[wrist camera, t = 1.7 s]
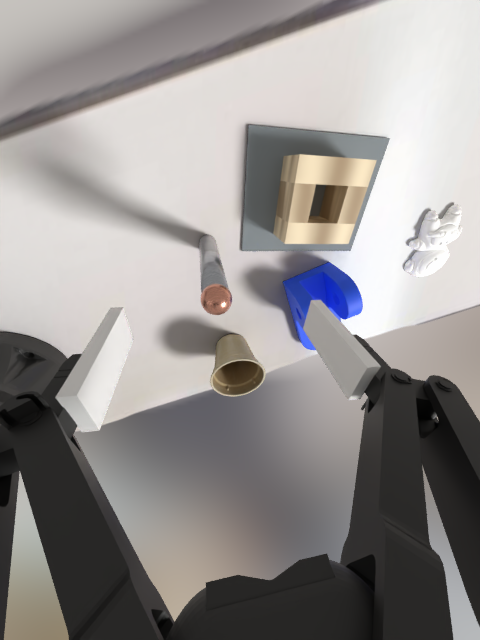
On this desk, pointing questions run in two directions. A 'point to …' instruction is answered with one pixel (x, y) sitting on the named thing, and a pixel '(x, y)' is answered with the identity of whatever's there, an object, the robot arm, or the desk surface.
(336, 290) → the bracket
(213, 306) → the copper-tipped rod
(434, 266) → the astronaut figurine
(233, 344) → the flower pot
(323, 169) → the block with square hole
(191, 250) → the desk surface
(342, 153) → the mat
